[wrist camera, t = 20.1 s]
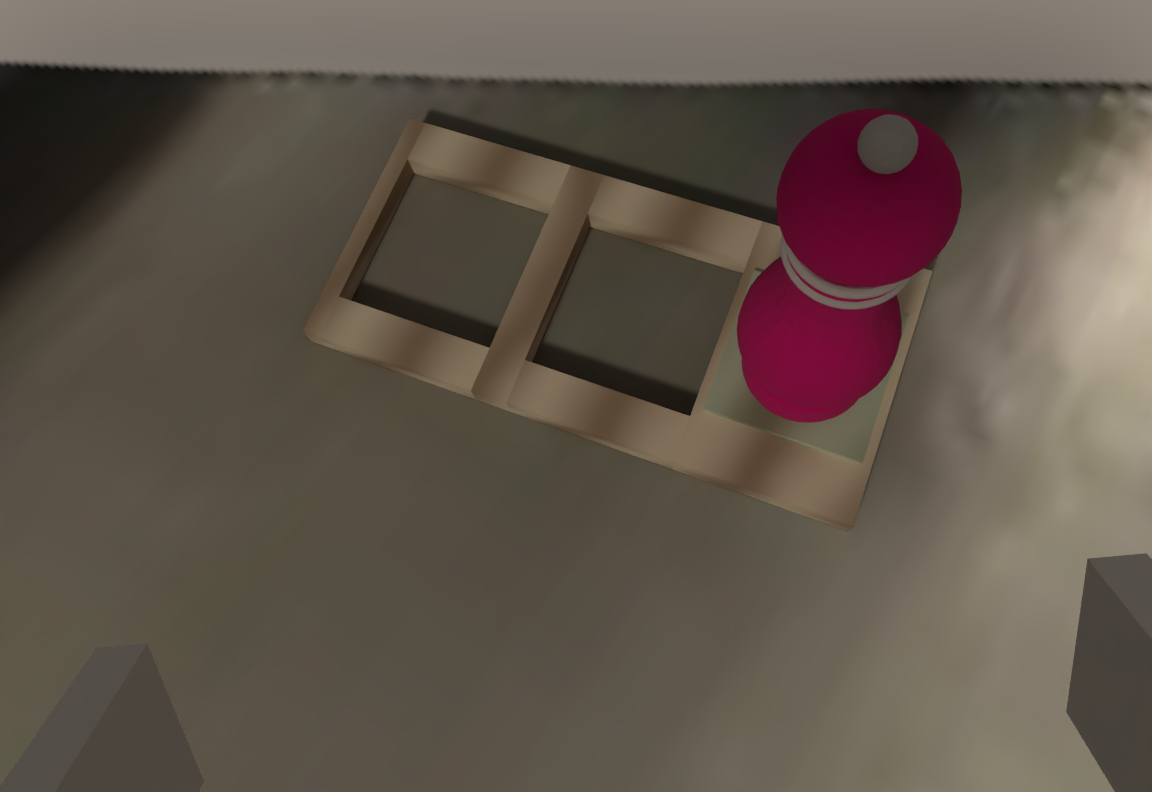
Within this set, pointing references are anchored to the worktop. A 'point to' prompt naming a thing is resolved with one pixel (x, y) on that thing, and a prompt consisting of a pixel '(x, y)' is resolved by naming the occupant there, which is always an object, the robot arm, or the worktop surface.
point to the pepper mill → (845, 260)
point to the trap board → (512, 382)
